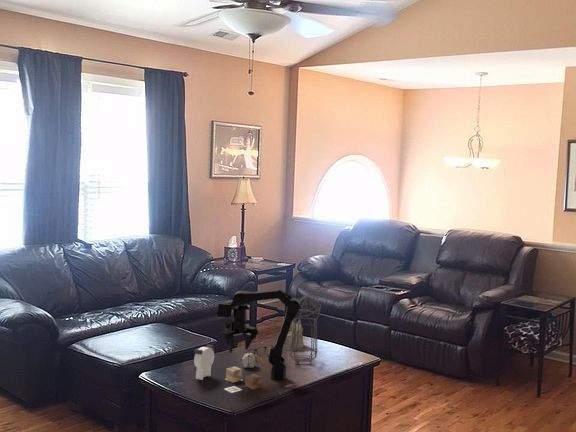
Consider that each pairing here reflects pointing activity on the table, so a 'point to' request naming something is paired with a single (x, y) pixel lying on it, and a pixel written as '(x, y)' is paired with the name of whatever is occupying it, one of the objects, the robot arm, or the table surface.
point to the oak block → (233, 374)
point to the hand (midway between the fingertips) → (238, 351)
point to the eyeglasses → (257, 352)
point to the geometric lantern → (305, 324)
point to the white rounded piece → (203, 361)
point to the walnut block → (253, 381)
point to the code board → (233, 388)
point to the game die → (249, 360)
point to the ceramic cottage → (289, 337)
